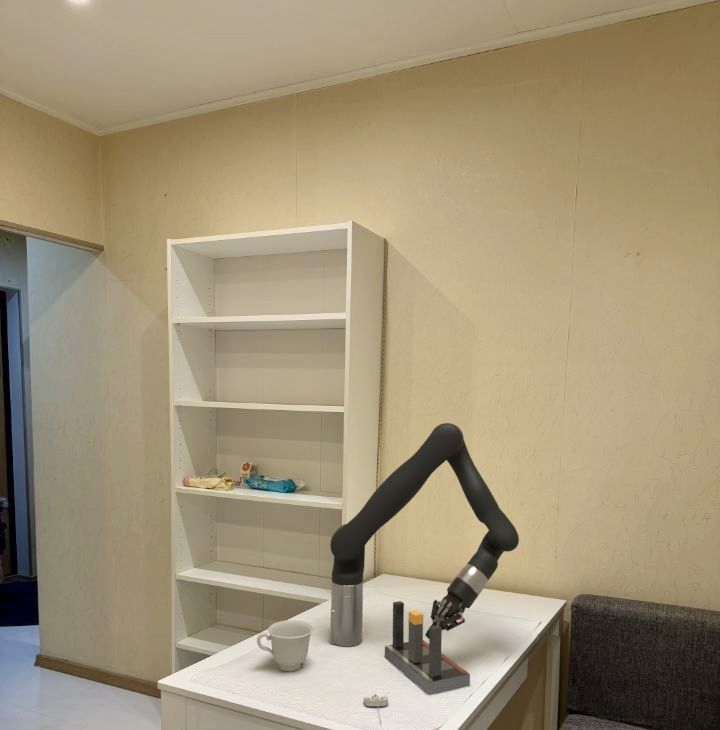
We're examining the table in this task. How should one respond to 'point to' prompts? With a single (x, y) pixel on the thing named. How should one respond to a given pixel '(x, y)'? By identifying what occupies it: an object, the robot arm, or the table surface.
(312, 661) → the table surface
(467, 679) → the pillared base stand
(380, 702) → the game controller
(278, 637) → the teacup
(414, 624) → the lever
